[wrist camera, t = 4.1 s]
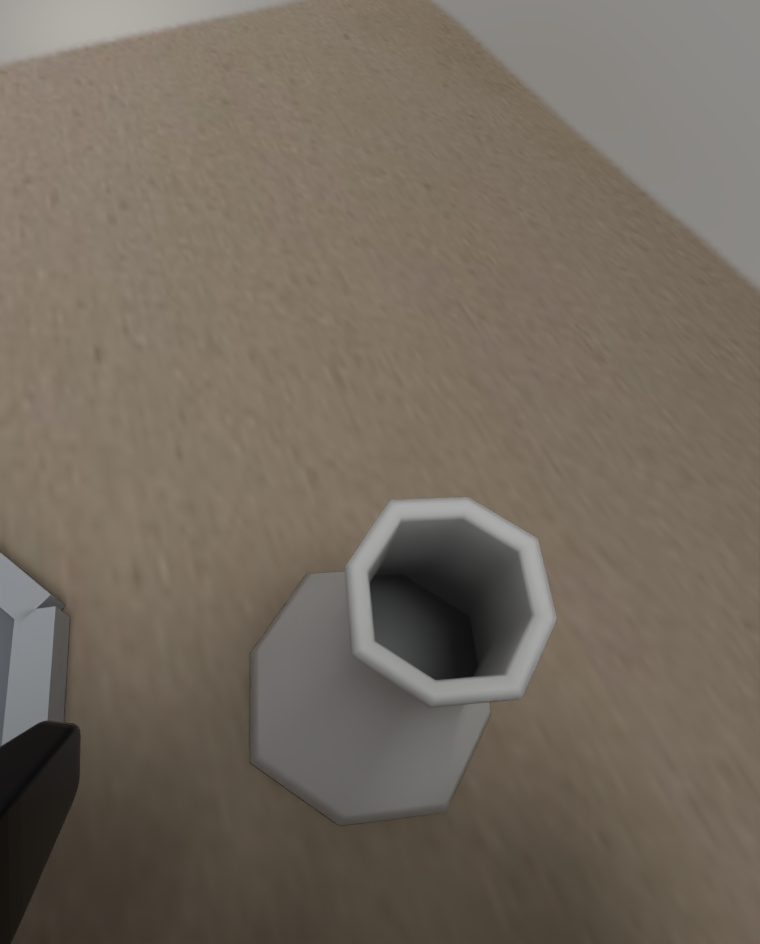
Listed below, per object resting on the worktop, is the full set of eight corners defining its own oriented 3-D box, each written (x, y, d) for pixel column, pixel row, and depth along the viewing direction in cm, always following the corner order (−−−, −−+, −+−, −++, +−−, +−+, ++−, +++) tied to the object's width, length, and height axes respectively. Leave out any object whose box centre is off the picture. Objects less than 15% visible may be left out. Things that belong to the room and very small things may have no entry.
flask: (286, 543, 19) (284, 341, 10) (501, 599, 19) (682, 448, 10) (206, 791, 16) (101, 810, 7) (470, 858, 16) (700, 960, 7)
